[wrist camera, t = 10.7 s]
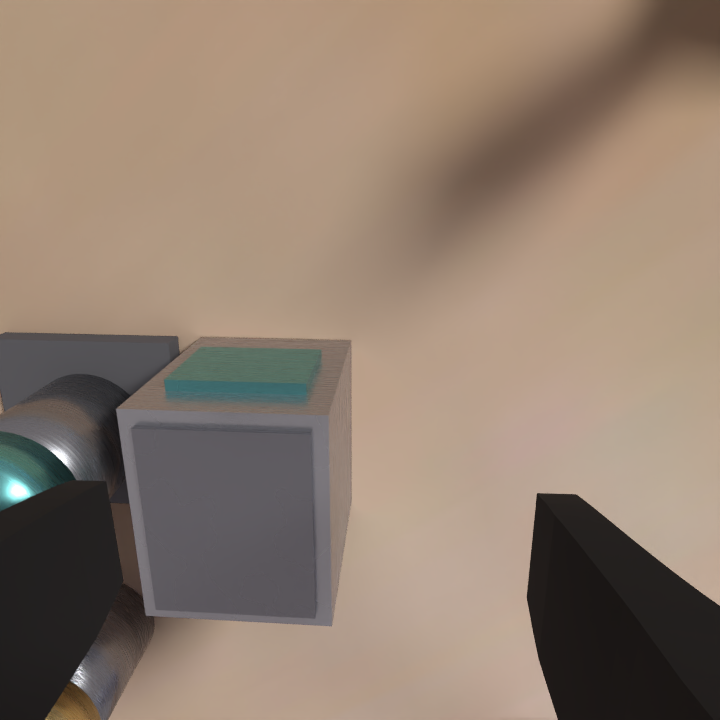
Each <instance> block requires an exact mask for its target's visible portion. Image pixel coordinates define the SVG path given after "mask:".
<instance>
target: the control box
mask: <svg viewBox="0 0 720 720" xmlns="http://www.w3.org/2000/svg"><path fill="white" fill-rule="evenodd" d="M116 412H117V419H118V426H119V433H120V440H121V447H122V454H123V461H124V468H125V475H126V482H127V489H128V496H129V503H130V509H131V516H132V523H133V530H134V537H135V544H136V551H137V558H138V565H139V572H140V579H141V586H142V593H143V600H144V607H145V614H146V616H159V617H176V618H194V619H212V620H230V621H248V622H265V623H283V624H301V625H319V626H332V623H333V617H334V610H335V604H336V597H337V591H338V584H339V578H340V571H341V565H342V559H343V552H344V546H345V539H346V533H347V526H348V520H349V513H350V507H351V500H352V493H351V340H312V339H269V338H225V337H201V338H199V339H198V340H197V341H196V342H195V343H193V344H192V345H191V346H190V347H189V348H188V349H186V350H185V351H184V352H183V353H182V354H180V355H179V356H178V357H177V358H176V359H174V360H173V361H172V362H171V363H170V364H169V365H167V366H166V367H165V368H164V369H163V370H161V371H160V372H159V373H158V374H157V375H156V376H154V377H153V378H152V379H151V380H150V381H148V382H147V383H146V384H145V385H144V386H142V387H141V388H140V389H139V390H138V391H137V392H135V393H134V394H133V395H132V396H131V397H129V398H128V399H127V400H126V401H125V402H124V403H122V404H121V405H120V406H119V407H118V408H116Z"/></svg>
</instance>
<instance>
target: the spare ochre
mask: <svg viewBox="0 0 720 720" xmlns="http://www.w3.org/2000/svg"><path fill="white" fill-rule="evenodd" d="M153 632H154V619H153V616H146V614H145V607H144V600H143V598H142V597H141V596H140V595H139V594H138V593H137V592H135V591H134V590H133V589H131V588H130V587H128V586H126V585H125V584H122V585H121V587H120V589H119V592H118V594H117V596H116V598H115V601H114V603H113V605H112V607H111V610H110V612H109V614H108V616H107V618H106V620H105V622H104V624H103V626H102V628H101V630H100V632H99V634H98V636H97V638H96V640H95V641H94V643H93V645H92V646H91V648H90V649H89V651H88V653H87V654H86V656H85V657H84V659H83V661H82V662H81V664H80V665H79V667H78V669H77V670H76V672H75V673H74V675H73V677H72V678H71V680H70V681H69V683H68V684H67V686H66V688H65V689H64V691H63V692H62V694H61V695H60V697H59V698H58V700H57V702H56V703H55V705H54V706H53V708H52V709H51V711H50V712H49V714H48V716H47V717H46V719H45V720H108V719H109V717H110V715H111V713H112V711H113V709H114V708H115V706H116V704H117V702H118V700H119V698H120V696H121V694H122V693H123V691H124V689H125V687H126V685H127V683H128V681H129V679H130V678H131V676H132V674H133V672H134V670H135V668H136V666H137V665H138V663H139V661H140V659H141V657H142V655H143V653H144V651H145V650H146V648H147V646H148V644H149V642H150V640H151V638H152V636H153Z"/></svg>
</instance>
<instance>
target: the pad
mask: <svg viewBox="0 0 720 720" xmlns="http://www.w3.org/2000/svg"><path fill="white" fill-rule="evenodd" d="M179 355H180V354H179V344H178V336H138V335H95V334H51V333H8V332H5V333H3V334H1V335H0V391H1V396H2V401H3V406H4V410H5V411H7V410H8V409H10V408H11V407H13V406H14V405H16V404H18V403H19V402H21V401H22V400H24V399H25V398H27V397H28V396H30V395H32V394H33V393H35V392H36V391H38V390H39V389H41V388H42V387H44V386H46V385H47V384H49V383H50V382H52V381H54V380H56V379H58V378H60V377H63V376H67V375H71V374H88V375H94V376H98V377H101V378H104V379H106V380H109V381H111V382H113V383H114V384H116V385H118V386H119V387H121V388H122V389H123V390H124V391H126V392H127V393H128V394H129V395H130V396H132V395H133V394H134V393H135V392H137V391H138V390H139V389H140V388H141V387H142V386H144V385H145V384H146V383H147V382H148V381H150V380H151V379H152V378H153V377H154V376H156V375H157V374H158V373H159V372H160V371H161V370H163V369H164V368H165V367H166V366H167V365H169V364H170V363H171V362H172V361H173V360H174V359H176V358H177V357H178V356H179ZM109 500H110V503H129V496H128V489H127V482H126V480H125V481H124V482H123V483H122V485H121V486H120V487H119V488H118V489H117V491H116V492H115V493H114V494H113V495H112V497H111V498H110V499H109Z"/></svg>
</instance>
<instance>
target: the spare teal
mask: <svg viewBox="0 0 720 720" xmlns="http://www.w3.org/2000/svg"><path fill="white" fill-rule="evenodd" d="M129 397H131V396H130V395H129V394H128V393H127V392H126V391H124V390H123V389H122V388H121V387H119V386H118V385H116V384H114V383H113V382H111V381H109V380H106V379H104V378H101V377H98V376H94V375H88V374H71V375H67V376H63V377H60V378H58V379H56V380H54V381H52V382H50V383H49V384H47V385H46V386H44V387H42V388H41V389H39V390H38V391H36V392H35V393H33V394H32V395H30V396H28V397H27V398H25V399H24V400H22V401H21V402H19V403H18V404H16V405H14V406H13V407H11V408H10V409H8V410H7V411H5V412H4V413H2V414H0V511H2V510H4V509H6V508H8V507H10V506H12V505H15V504H17V503H19V502H21V501H23V500H25V499H27V498H30V497H32V496H34V495H36V494H38V493H41V492H43V491H45V490H47V489H50V488H52V487H55V486H57V485H60V484H63V483H65V482H68V481H71V480H86V481H106V482H107V488H108V494H109V499H110V498H111V497H112V495H113V494H114V493H115V492H116V491H117V489H118V488H119V487H120V486H121V485H122V483H123V482H124V481H125V480H126V475H125V468H124V461H123V454H122V447H121V440H120V433H119V426H118V419H117V412H116V408H118V407H119V406H120V405H121V404H122V403H124V402H125V401H126V400H127V399H128V398H129Z"/></svg>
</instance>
